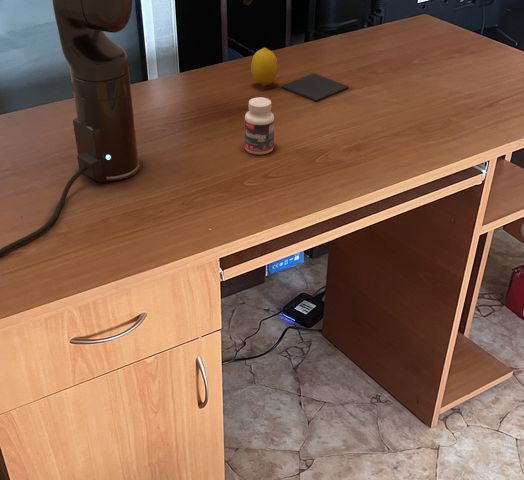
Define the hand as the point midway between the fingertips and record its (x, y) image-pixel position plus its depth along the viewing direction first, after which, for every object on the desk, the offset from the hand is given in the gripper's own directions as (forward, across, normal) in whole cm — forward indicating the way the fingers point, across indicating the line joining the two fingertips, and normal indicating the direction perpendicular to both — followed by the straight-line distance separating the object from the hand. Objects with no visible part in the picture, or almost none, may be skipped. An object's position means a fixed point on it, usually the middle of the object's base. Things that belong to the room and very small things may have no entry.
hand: (227, 0), depth 143 cm
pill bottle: (+20, +13, -15) cm, 28 cm away
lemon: (+22, +1, +12) cm, 25 cm away
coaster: (+22, +10, +16) cm, 29 cm away
